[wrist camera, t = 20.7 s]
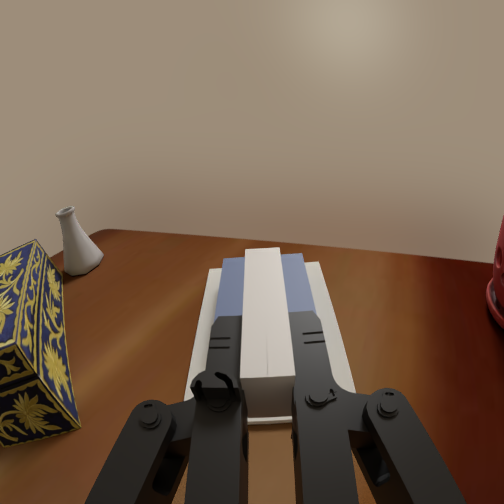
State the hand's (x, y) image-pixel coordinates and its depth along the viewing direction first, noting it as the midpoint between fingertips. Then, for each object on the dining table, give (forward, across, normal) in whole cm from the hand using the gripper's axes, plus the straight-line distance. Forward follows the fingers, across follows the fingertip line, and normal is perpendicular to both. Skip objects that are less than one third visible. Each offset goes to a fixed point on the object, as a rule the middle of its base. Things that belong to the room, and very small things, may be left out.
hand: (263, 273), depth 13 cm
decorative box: (+6, -29, -15) cm, 33 cm away
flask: (+24, -30, -15) cm, 41 cm away
